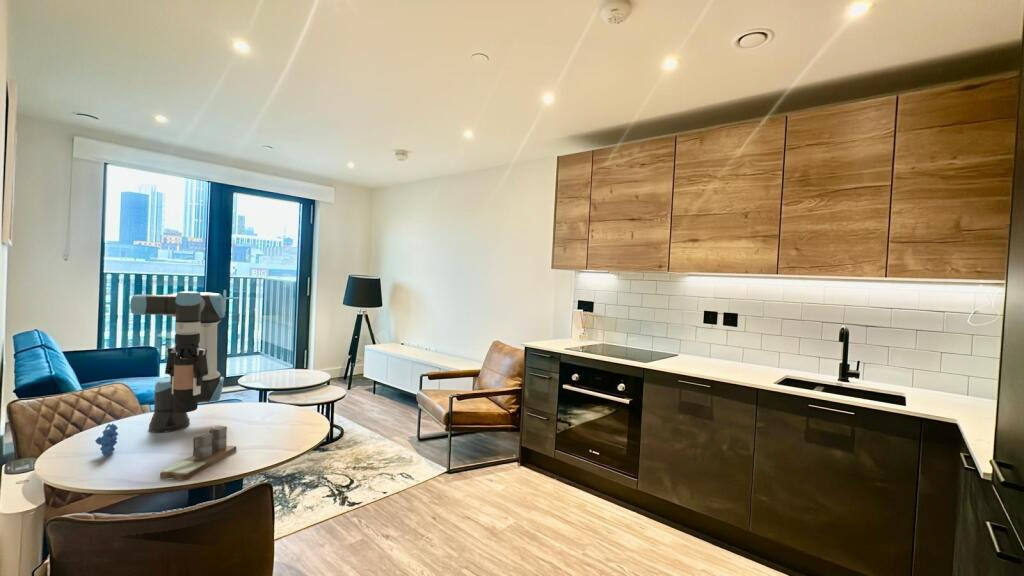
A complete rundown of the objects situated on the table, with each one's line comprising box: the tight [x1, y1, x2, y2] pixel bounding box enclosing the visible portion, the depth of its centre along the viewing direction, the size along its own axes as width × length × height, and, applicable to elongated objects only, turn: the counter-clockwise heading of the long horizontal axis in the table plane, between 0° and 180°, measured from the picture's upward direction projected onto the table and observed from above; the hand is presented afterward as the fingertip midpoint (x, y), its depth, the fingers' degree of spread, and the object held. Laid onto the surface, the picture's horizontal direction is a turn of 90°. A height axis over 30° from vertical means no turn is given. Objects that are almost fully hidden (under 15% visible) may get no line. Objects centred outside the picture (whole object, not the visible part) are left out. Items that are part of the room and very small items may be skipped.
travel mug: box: [173, 357, 199, 413], centre depth 162 cm, size 8×8×20 cm
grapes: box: [94, 422, 119, 457], centre depth 174 cm, size 12×7×12 cm, turn 29°
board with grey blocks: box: [159, 425, 237, 481], centre depth 170 cm, size 10×26×11 cm, turn 176°
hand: (186, 393), depth 162 cm, fingers closed on travel mug, 8 cm apart
